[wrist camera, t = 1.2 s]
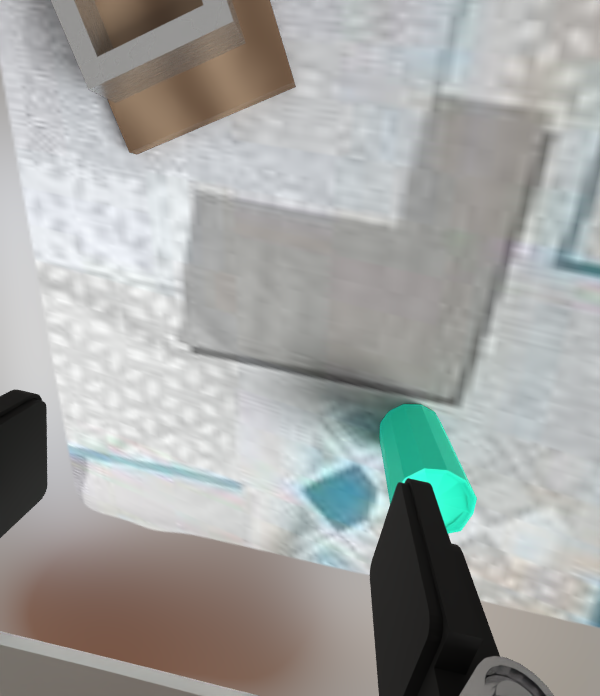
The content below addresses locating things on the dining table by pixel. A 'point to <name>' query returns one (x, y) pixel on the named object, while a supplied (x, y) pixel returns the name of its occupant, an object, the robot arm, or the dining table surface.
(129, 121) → the board
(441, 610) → the robot arm
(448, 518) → the candle
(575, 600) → the dining table surface
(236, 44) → the collar
